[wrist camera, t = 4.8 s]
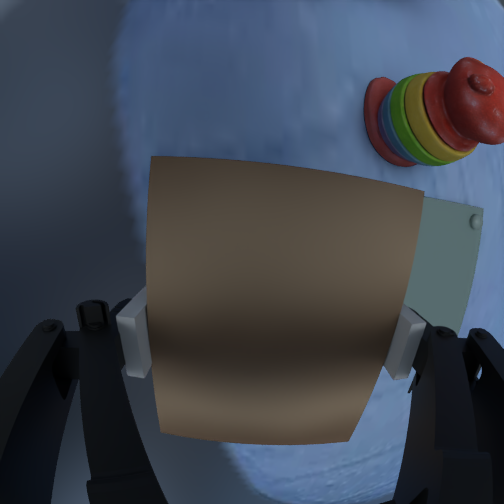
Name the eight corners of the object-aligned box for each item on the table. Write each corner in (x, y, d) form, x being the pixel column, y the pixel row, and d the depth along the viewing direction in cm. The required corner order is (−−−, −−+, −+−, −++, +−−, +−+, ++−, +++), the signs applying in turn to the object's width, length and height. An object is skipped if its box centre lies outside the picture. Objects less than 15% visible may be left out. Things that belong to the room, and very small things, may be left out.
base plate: (344, 186, 29) (350, 186, 27) (479, 207, 29) (488, 209, 27) (322, 363, 34) (325, 372, 32) (448, 348, 34) (455, 354, 32)
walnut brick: (189, 166, 15) (151, 156, 9) (366, 187, 15) (424, 191, 9) (182, 369, 18) (160, 432, 12) (326, 379, 18) (348, 441, 12)
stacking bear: (440, 117, 27) (541, 91, 9) (421, 184, 29) (537, 193, 11) (371, 72, 26) (457, 2, 8) (347, 142, 28) (449, 100, 10)
